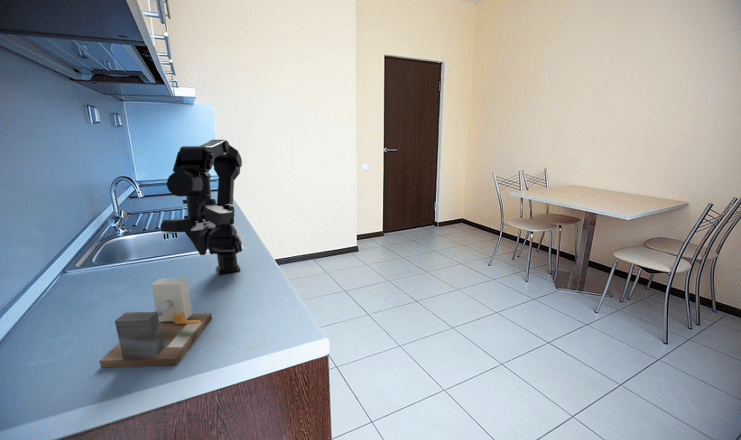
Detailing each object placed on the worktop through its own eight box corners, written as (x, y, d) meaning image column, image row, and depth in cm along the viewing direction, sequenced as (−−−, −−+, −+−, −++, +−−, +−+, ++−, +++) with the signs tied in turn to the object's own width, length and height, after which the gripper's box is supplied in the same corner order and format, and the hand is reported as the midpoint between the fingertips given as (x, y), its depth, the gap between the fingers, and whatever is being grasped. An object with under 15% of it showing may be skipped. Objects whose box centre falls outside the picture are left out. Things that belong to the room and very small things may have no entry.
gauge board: (151, 320, 80) (144, 283, 78) (212, 318, 81) (207, 282, 78) (101, 367, 64) (90, 323, 62) (176, 365, 65) (168, 321, 62)
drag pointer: (177, 321, 76) (175, 313, 75) (200, 321, 76) (199, 312, 75) (174, 324, 75) (173, 315, 74) (198, 323, 75) (197, 315, 74)
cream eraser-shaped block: (165, 314, 79) (159, 278, 76) (191, 313, 79) (186, 278, 77) (147, 331, 72) (140, 293, 70) (176, 331, 72) (169, 292, 70)
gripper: (193, 196, 76) (198, 264, 78) (248, 194, 94) (251, 249, 95) (156, 196, 80) (162, 262, 81) (216, 194, 97) (219, 248, 99)
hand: (202, 254), depth 89 cm, fingers closed
